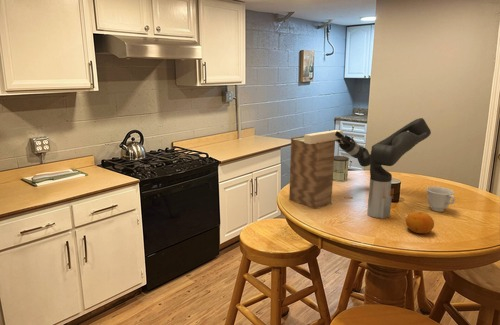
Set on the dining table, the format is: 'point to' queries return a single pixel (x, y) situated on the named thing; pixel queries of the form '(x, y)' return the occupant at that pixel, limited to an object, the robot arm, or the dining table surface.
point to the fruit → (419, 222)
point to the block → (321, 136)
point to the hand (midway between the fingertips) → (332, 132)
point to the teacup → (439, 198)
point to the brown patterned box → (311, 172)
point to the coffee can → (340, 168)
